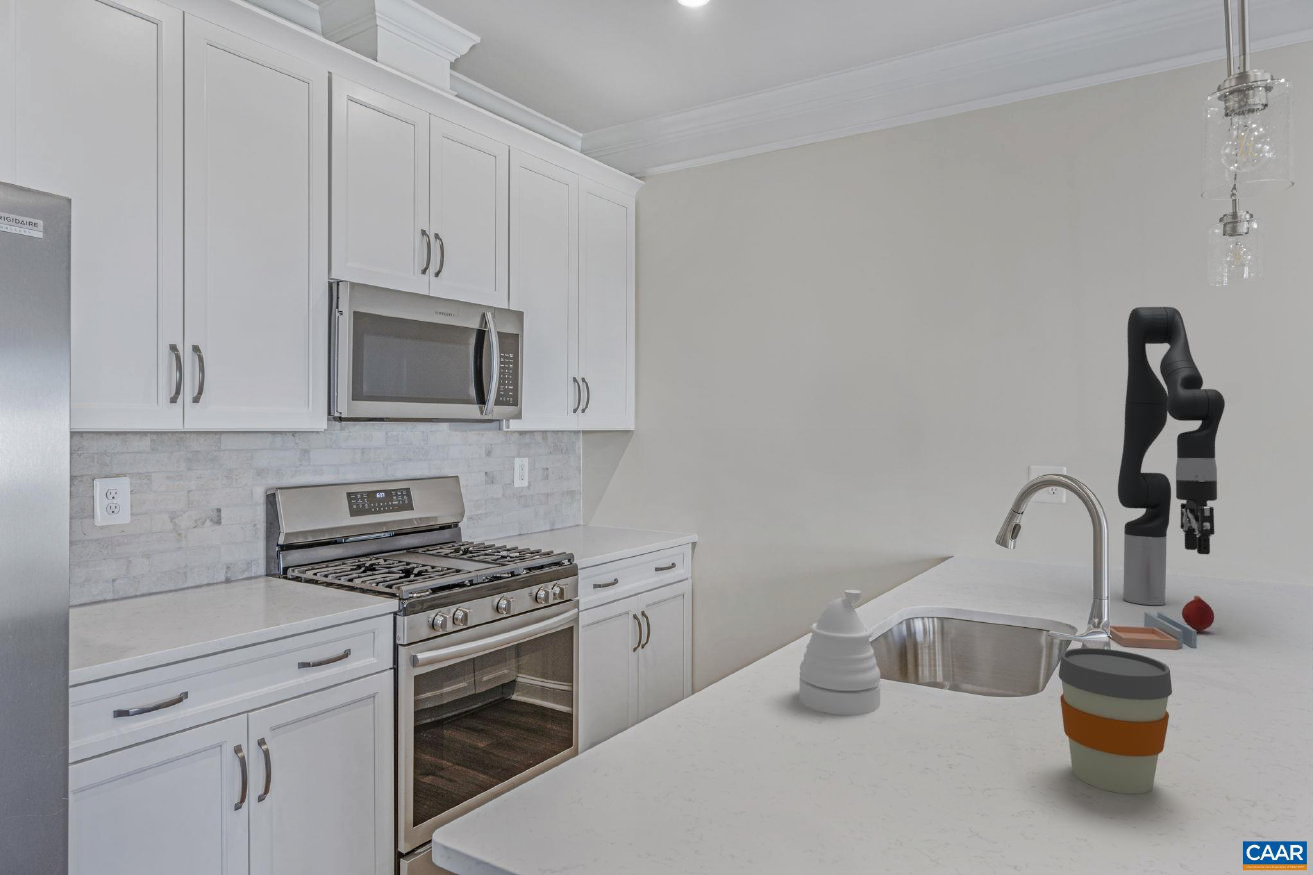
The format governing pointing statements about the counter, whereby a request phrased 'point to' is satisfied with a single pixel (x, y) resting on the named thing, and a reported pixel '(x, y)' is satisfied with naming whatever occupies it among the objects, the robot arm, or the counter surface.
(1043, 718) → the counter surface
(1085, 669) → the reusable coffee cup
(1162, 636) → the terracotta dish
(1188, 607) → the pomegranate
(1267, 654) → the counter surface
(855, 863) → the counter surface
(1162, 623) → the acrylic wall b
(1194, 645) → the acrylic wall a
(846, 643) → the honey pot
